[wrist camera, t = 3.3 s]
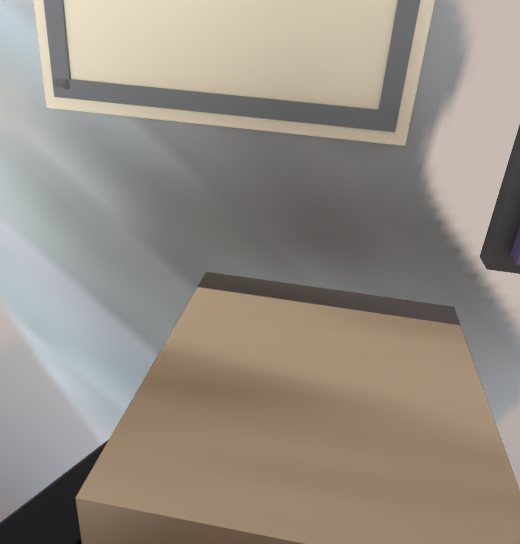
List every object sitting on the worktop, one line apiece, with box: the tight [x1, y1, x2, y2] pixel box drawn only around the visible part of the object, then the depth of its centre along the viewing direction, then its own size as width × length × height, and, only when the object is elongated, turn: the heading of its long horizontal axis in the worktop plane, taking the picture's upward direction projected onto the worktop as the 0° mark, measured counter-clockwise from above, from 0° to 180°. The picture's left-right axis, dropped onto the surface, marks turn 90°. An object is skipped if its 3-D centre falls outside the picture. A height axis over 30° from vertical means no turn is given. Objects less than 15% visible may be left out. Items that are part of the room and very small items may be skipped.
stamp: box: [75, 272, 520, 544], centre depth 7 cm, size 4×4×6 cm
